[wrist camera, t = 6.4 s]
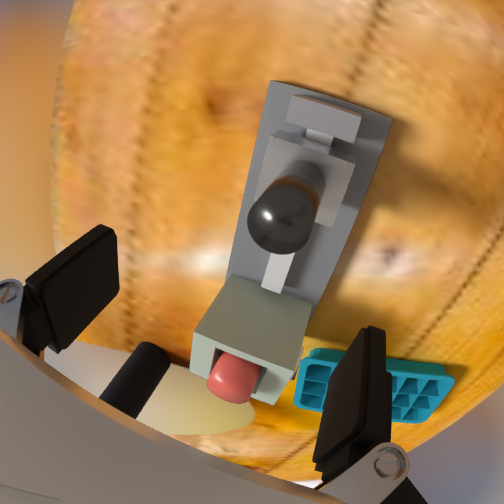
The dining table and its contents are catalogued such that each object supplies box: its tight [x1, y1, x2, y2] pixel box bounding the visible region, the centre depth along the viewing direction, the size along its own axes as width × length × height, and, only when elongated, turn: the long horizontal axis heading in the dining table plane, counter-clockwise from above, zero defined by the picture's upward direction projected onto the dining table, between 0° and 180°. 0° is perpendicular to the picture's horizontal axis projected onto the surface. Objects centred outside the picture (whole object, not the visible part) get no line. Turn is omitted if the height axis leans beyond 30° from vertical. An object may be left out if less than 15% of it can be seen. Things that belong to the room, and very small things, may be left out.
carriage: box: [247, 130, 356, 255], centre depth 20 cm, size 6×5×11 cm
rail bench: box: [189, 80, 393, 405], centre depth 26 cm, size 10×26×10 cm, turn 167°
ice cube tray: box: [293, 348, 455, 424], centre depth 36 cm, size 12×20×3 cm, turn 90°
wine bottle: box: [99, 342, 171, 419], centre depth 37 cm, size 6×6×30 cm
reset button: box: [207, 351, 263, 404], centre depth 28 cm, size 4×4×6 cm
